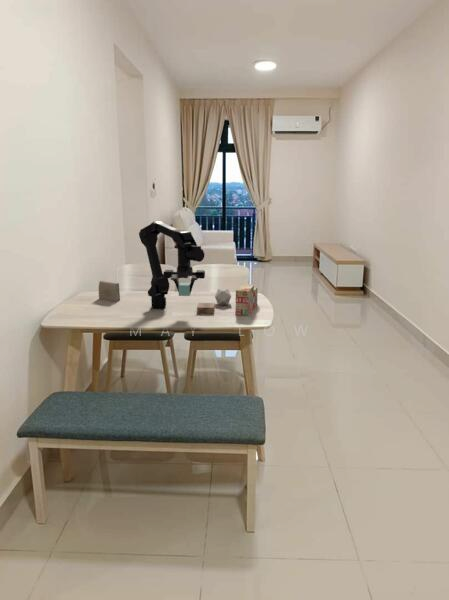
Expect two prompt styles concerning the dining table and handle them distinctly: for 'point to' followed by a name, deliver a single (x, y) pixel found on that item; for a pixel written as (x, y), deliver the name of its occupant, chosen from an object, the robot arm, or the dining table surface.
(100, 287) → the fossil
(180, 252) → the robot arm
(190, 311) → the dining table surface
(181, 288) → the teal cube
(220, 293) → the die
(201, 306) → the walnut base
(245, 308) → the printed cardboard box
